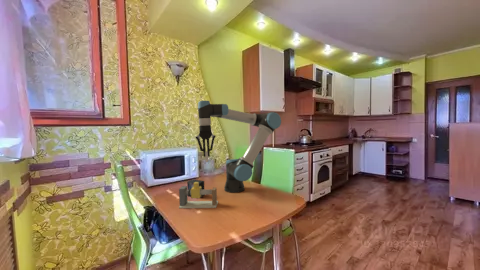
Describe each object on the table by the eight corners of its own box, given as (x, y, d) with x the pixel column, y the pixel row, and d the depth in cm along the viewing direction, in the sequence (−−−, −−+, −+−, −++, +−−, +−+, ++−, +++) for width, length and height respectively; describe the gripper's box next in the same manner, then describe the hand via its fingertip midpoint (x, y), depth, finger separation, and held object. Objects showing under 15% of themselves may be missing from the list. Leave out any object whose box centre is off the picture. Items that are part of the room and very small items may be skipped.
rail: (218, 202, 128) (217, 184, 128) (216, 207, 119) (215, 189, 119) (183, 202, 129) (182, 185, 128) (178, 208, 120) (178, 189, 119)
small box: (187, 196, 141) (186, 181, 140) (193, 193, 146) (192, 179, 146) (199, 198, 136) (198, 183, 135) (205, 195, 141) (204, 180, 141)
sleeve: (201, 195, 126) (201, 181, 126) (199, 198, 121) (199, 183, 121) (193, 195, 126) (193, 181, 126) (191, 198, 121) (190, 183, 121)
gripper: (215, 124, 134) (217, 160, 135) (195, 125, 134) (197, 161, 135) (214, 124, 127) (216, 162, 128) (193, 125, 126) (195, 163, 127)
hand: (207, 161), depth 131 cm, fingers closed
